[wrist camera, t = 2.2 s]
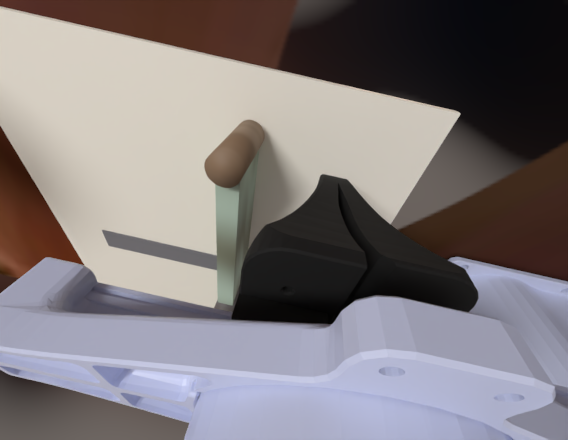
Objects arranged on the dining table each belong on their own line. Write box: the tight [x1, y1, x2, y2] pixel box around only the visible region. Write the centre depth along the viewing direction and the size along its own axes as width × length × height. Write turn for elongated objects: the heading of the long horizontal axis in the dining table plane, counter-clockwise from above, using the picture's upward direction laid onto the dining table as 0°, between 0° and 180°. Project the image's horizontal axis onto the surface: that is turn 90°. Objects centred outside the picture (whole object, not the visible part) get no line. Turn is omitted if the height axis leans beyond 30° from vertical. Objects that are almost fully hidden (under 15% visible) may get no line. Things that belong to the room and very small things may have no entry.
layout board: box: [0, 6, 460, 308], centre depth 19 cm, size 24×28×1 cm
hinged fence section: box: [204, 120, 265, 306], centre depth 13 cm, size 11×1×4 cm, turn 170°
